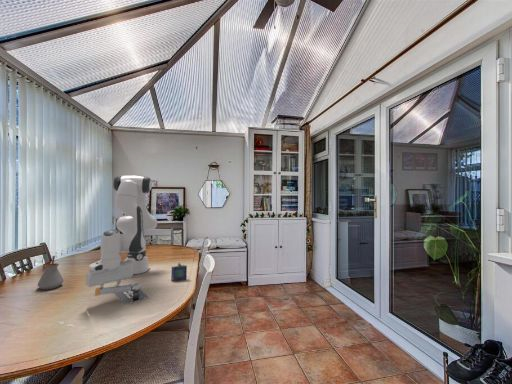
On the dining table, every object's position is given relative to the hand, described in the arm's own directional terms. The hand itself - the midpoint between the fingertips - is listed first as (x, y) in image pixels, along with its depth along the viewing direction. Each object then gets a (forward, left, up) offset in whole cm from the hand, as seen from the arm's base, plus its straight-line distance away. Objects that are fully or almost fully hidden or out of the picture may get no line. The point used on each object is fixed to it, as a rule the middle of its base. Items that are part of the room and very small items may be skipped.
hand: (110, 290), depth 121 cm
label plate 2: (+3, +9, -5) cm, 11 cm away
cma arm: (+5, +3, 0) cm, 6 cm away
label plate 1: (-4, +10, -5) cm, 11 cm away
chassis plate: (+1, +10, -6) cm, 11 cm away
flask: (-6, +39, -6) cm, 40 cm away
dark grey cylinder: (+8, +10, -5) cm, 14 cm away
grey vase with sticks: (-49, -19, -6) cm, 53 cm away
